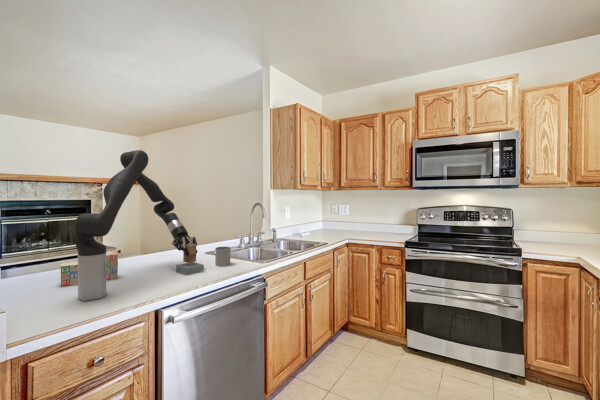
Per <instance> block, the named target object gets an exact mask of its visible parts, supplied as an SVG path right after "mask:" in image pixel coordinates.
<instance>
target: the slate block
mask: <svg viewBox="0 0 600 400" xmlns="http://www.w3.org/2000/svg"><path fill="white" fill-rule="evenodd" d="M204 267H205V265H204V264H202V263H199V262H196V261H195V262H191V263H187V262H183V263H180V264H176V265H175V273H178V274H180V275H185V276H191V275H195V274H199V273H202V272H204V271H205V268H204Z"/></svg>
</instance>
